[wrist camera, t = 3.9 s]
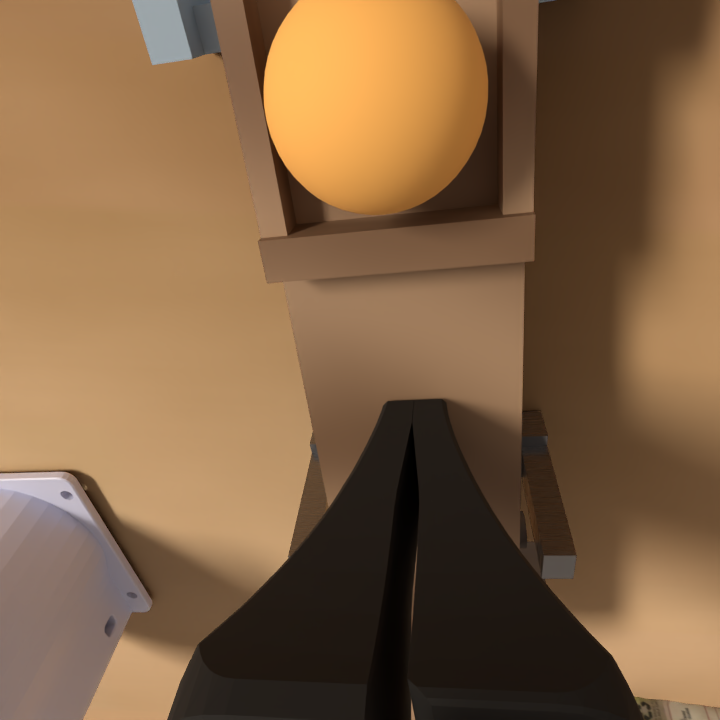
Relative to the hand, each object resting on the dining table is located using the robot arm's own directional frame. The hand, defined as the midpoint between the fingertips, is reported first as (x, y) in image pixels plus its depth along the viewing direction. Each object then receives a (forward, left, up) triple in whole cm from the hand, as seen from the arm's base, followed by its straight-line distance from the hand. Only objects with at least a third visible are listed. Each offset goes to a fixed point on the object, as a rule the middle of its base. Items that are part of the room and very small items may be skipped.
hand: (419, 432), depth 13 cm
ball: (+7, 0, +1) cm, 7 cm away
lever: (-2, 0, -3) cm, 3 cm away
